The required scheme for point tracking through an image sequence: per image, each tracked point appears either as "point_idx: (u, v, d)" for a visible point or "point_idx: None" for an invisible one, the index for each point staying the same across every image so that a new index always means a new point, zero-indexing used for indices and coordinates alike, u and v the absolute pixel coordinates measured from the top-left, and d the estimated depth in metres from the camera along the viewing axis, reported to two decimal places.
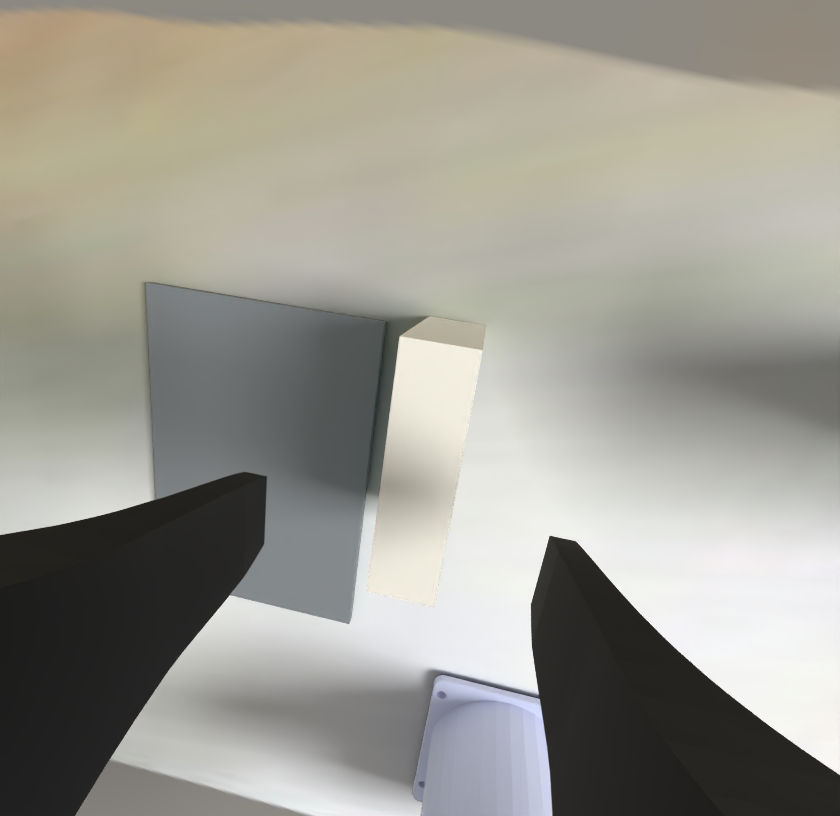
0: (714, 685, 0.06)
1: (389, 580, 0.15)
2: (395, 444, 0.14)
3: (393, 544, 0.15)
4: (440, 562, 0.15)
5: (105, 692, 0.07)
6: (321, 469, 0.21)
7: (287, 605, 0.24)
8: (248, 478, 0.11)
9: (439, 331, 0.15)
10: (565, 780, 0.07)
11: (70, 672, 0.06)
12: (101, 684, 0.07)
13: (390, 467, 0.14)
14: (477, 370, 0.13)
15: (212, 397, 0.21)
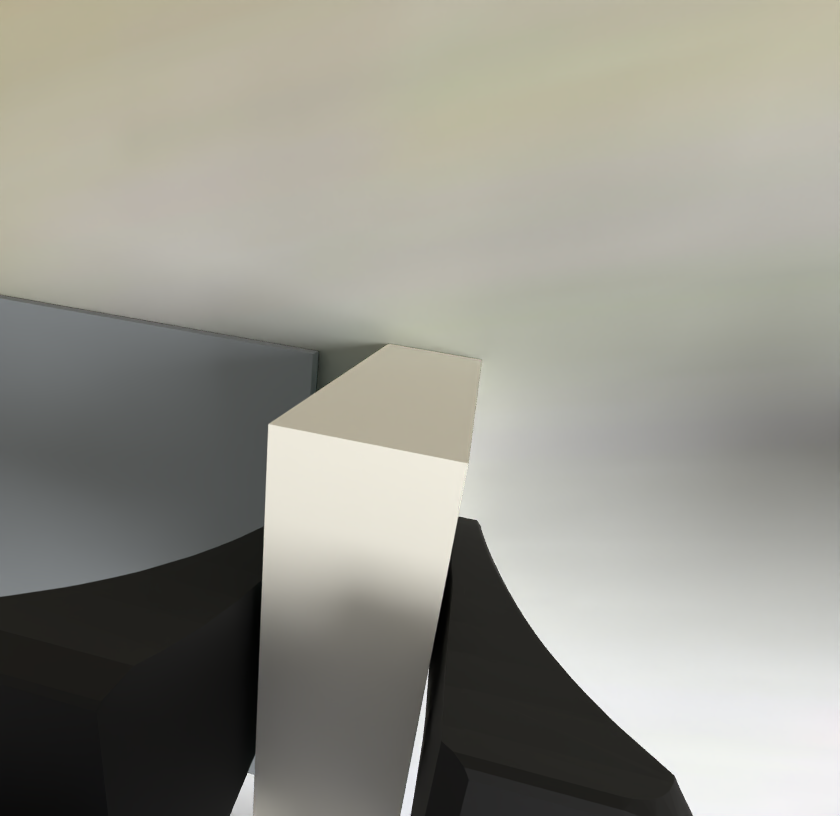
0: None
1: None
2: (280, 647, 0.06)
3: None
4: None
5: (240, 729, 0.07)
6: None
7: None
8: None
9: (385, 389, 0.07)
10: (424, 742, 0.07)
11: (221, 713, 0.06)
12: (238, 722, 0.07)
13: (273, 689, 0.07)
14: (456, 508, 0.05)
15: (59, 464, 0.14)
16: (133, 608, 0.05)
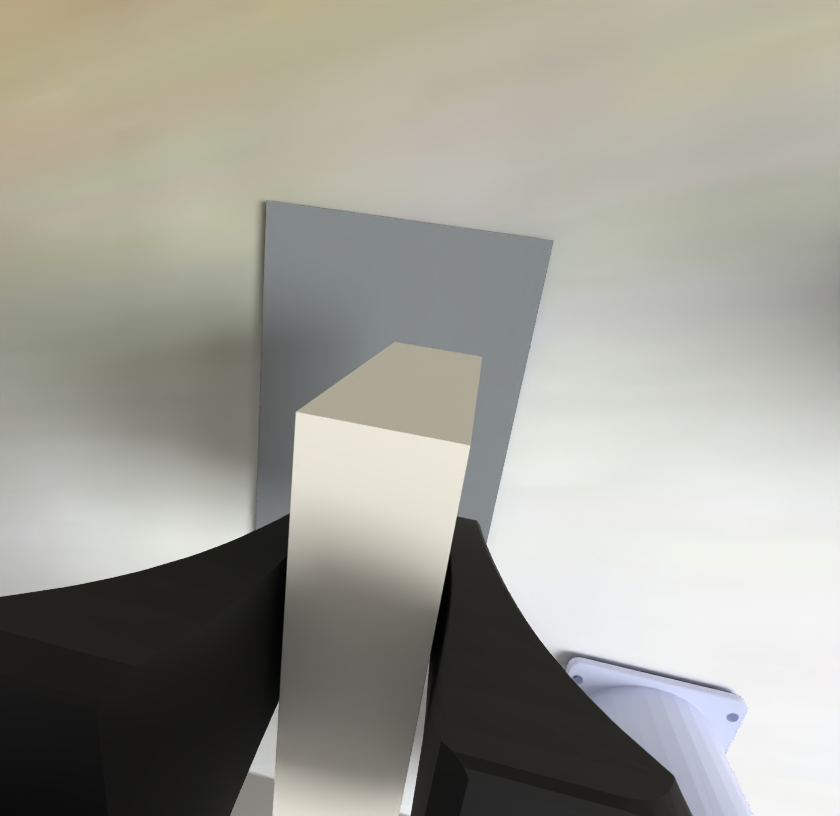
0: (542, 644, 0.06)
1: None
2: (302, 611, 0.07)
3: (312, 771, 0.08)
4: (396, 807, 0.08)
5: (240, 729, 0.07)
6: None
7: None
8: None
9: (395, 383, 0.08)
10: (423, 742, 0.07)
11: (222, 713, 0.06)
12: (239, 722, 0.07)
13: (296, 649, 0.07)
14: (460, 484, 0.06)
15: (335, 336, 0.18)
16: (134, 607, 0.05)
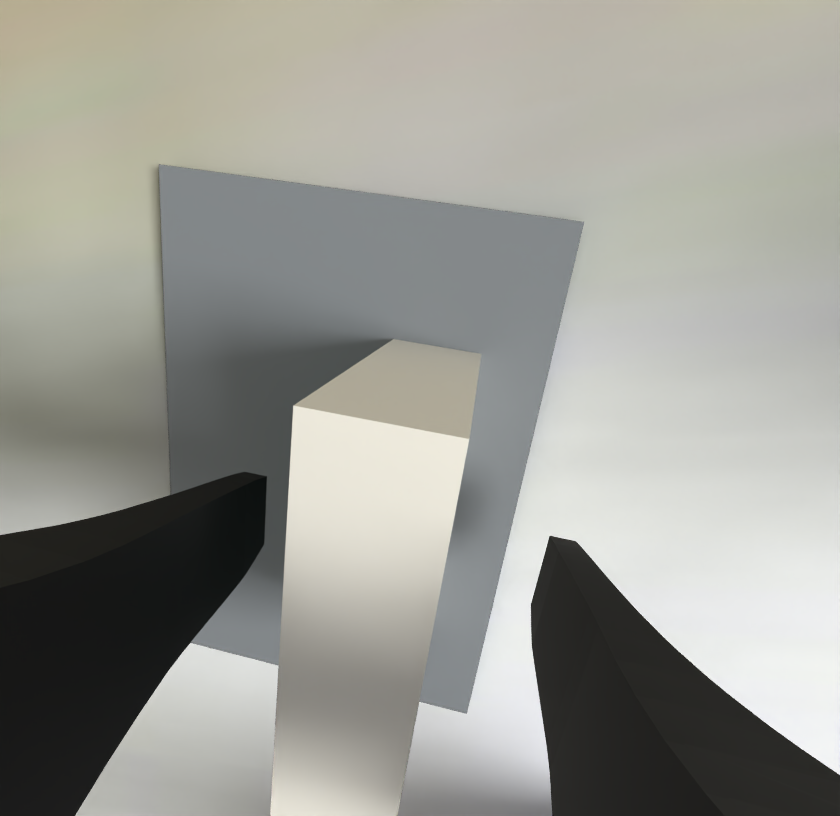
0: (714, 685, 0.06)
1: None
2: (300, 608, 0.07)
3: (310, 770, 0.08)
4: (395, 806, 0.08)
5: (105, 692, 0.07)
6: None
7: None
8: (248, 478, 0.11)
9: (394, 378, 0.08)
10: (565, 780, 0.07)
11: (70, 672, 0.06)
12: (101, 684, 0.07)
13: (294, 646, 0.07)
14: (459, 479, 0.06)
15: (267, 362, 0.13)
16: None
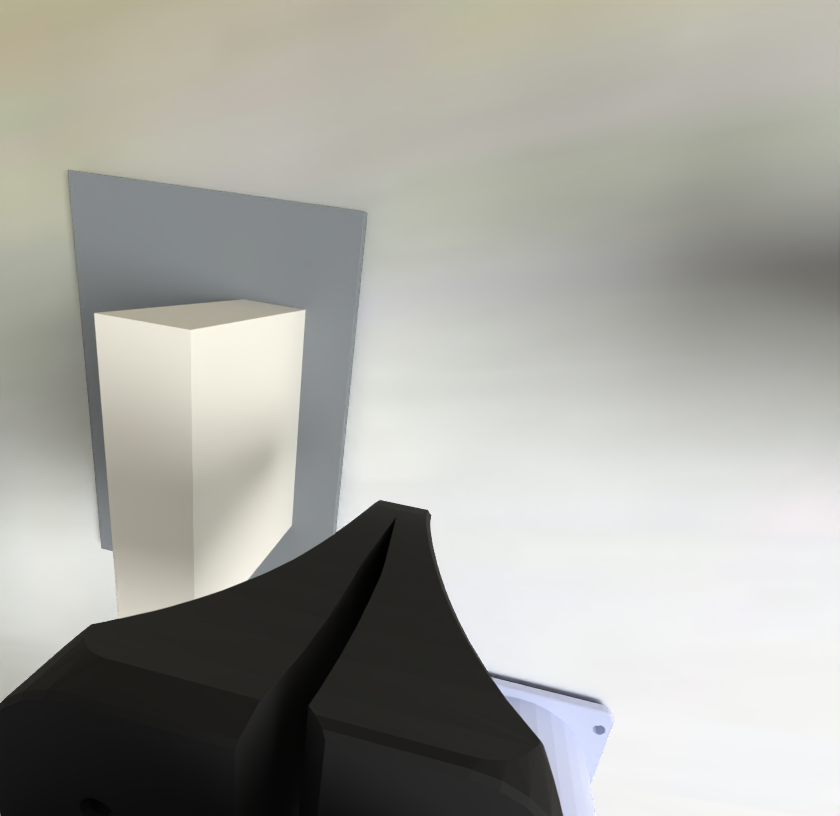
0: (460, 624, 0.06)
1: (140, 612, 0.13)
2: (115, 448, 0.11)
3: (137, 569, 0.12)
4: (191, 591, 0.12)
5: None
6: None
7: None
8: (391, 508, 0.10)
9: (193, 311, 0.12)
10: None
11: None
12: None
13: (115, 476, 0.11)
14: (190, 355, 0.10)
15: None
16: (229, 632, 0.05)
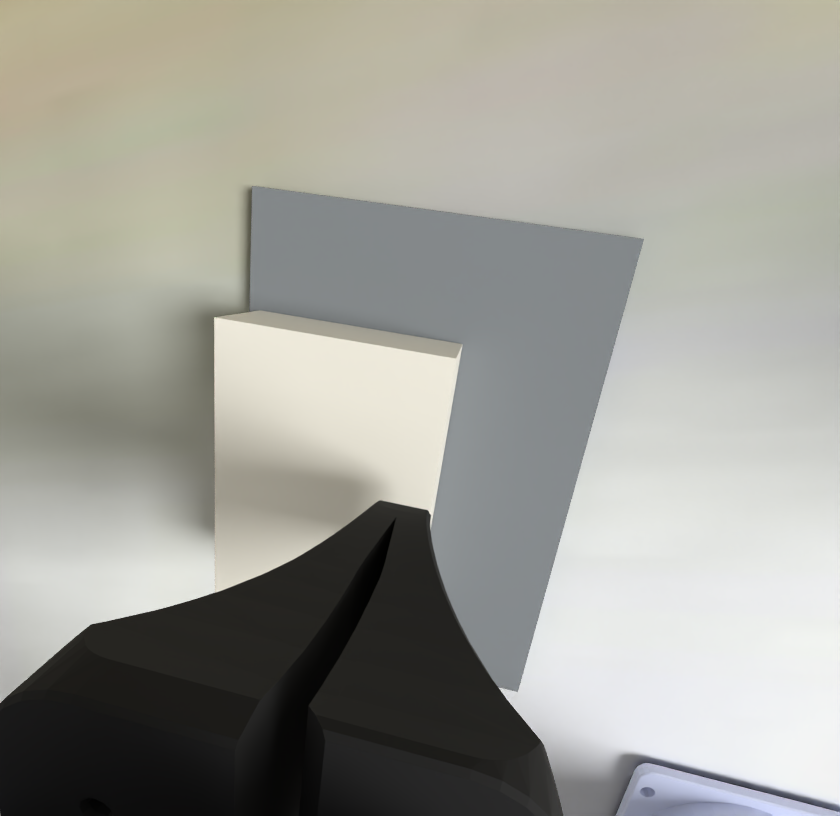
0: (460, 624, 0.06)
1: None
2: None
3: None
4: (216, 547, 0.14)
5: None
6: (505, 473, 0.14)
7: None
8: (392, 508, 0.10)
9: (318, 325, 0.13)
10: None
11: None
12: None
13: None
14: (215, 340, 0.12)
15: None
16: (229, 632, 0.05)
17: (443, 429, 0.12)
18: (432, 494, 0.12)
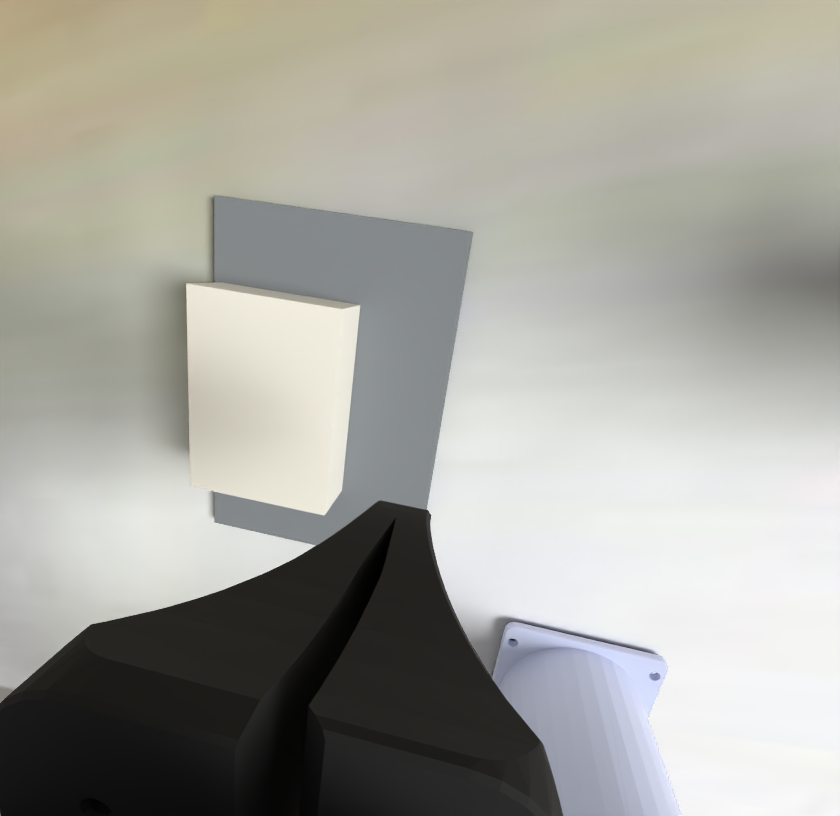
0: (460, 624, 0.06)
1: None
2: None
3: None
4: (190, 449, 0.20)
5: None
6: (395, 398, 0.20)
7: None
8: (391, 509, 0.10)
9: (259, 290, 0.19)
10: None
11: None
12: None
13: None
14: (187, 299, 0.18)
15: None
16: (230, 632, 0.05)
17: (338, 357, 0.17)
18: (334, 404, 0.18)
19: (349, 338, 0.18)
